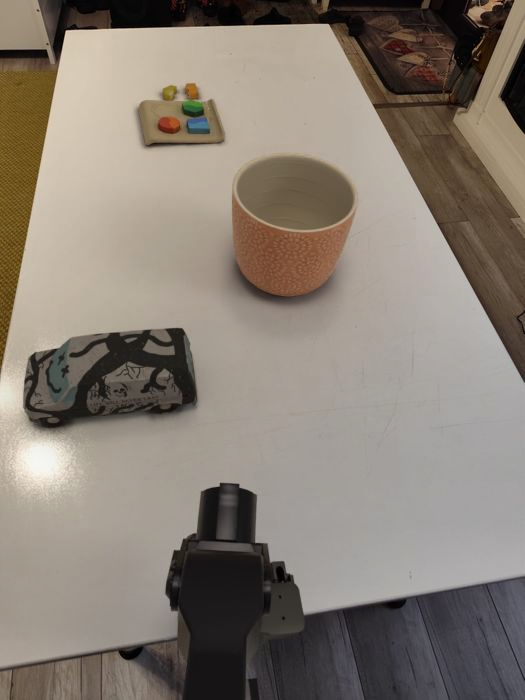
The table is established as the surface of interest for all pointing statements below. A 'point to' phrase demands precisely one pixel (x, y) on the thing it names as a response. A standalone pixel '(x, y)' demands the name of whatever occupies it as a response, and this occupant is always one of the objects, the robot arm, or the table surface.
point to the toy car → (110, 376)
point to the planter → (291, 221)
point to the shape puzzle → (180, 119)
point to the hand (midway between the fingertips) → (218, 634)
